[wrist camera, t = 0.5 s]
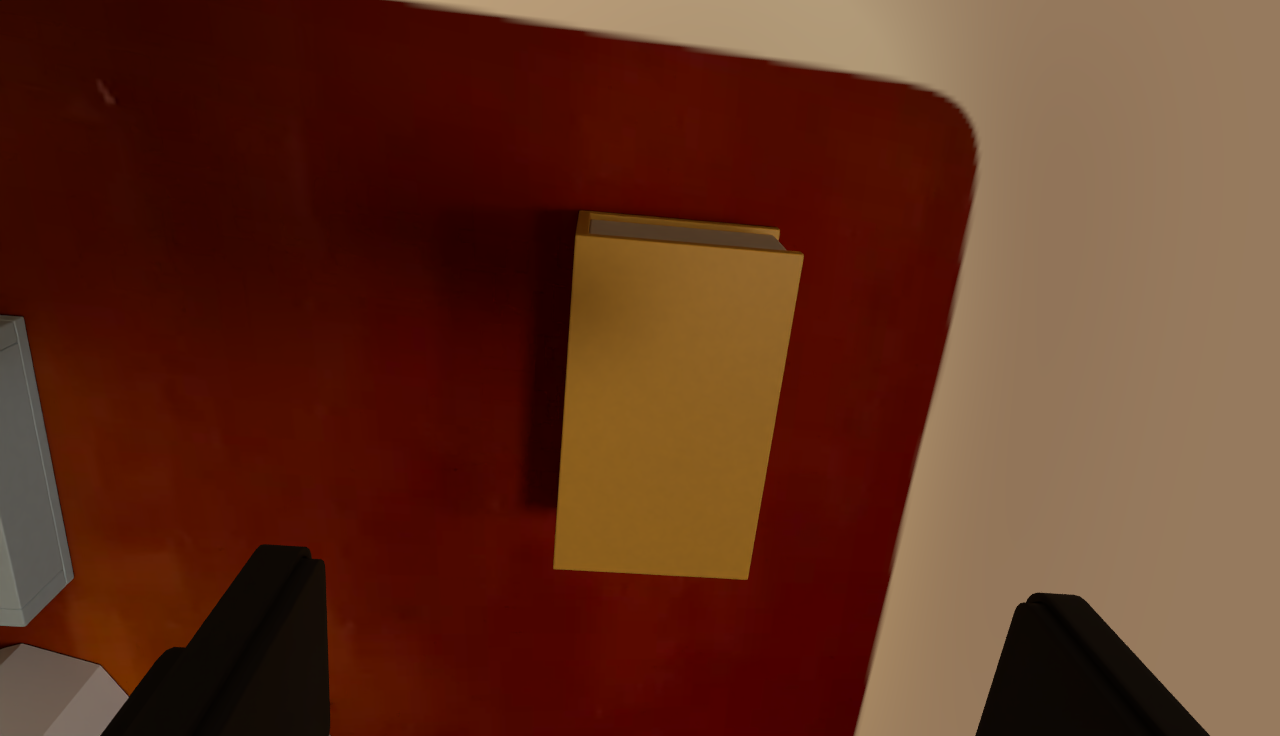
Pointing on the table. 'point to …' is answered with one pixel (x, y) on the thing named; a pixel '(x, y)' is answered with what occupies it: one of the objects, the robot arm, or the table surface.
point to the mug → (54, 694)
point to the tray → (26, 489)
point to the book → (670, 393)
